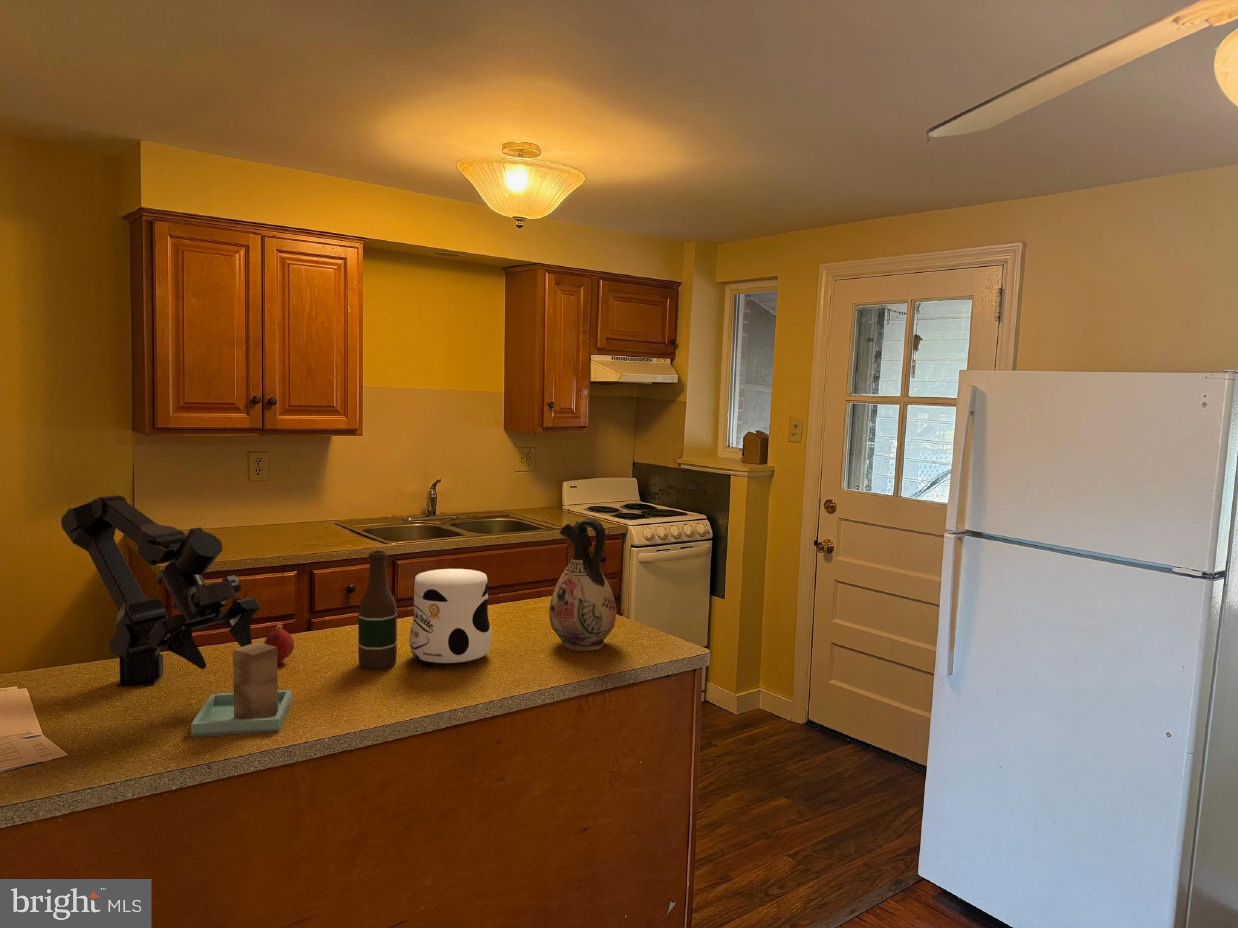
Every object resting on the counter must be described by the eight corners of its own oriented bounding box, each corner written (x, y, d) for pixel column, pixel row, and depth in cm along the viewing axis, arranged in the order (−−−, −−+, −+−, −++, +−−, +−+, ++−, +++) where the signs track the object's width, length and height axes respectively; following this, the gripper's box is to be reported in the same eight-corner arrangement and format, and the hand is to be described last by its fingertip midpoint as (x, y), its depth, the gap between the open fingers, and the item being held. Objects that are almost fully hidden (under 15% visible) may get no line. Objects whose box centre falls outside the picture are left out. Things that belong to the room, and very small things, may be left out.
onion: (283, 668, 170) (282, 630, 169) (257, 666, 171) (257, 628, 170) (299, 659, 176) (299, 622, 175) (275, 657, 177) (274, 620, 176)
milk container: (392, 664, 175) (392, 580, 173) (439, 641, 191) (440, 564, 189) (463, 677, 168) (464, 589, 166) (506, 652, 184) (507, 572, 182)
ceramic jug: (533, 645, 190) (536, 515, 187) (580, 631, 201) (583, 509, 198) (588, 663, 179) (592, 525, 176) (634, 647, 190) (638, 517, 187)
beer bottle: (404, 661, 176) (404, 550, 174) (382, 673, 169) (382, 556, 167) (373, 656, 179) (373, 546, 177) (350, 668, 172) (350, 553, 169)
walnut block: (233, 717, 144) (232, 649, 143) (258, 707, 148) (258, 641, 147) (253, 723, 141) (252, 654, 140) (277, 713, 146) (277, 646, 145)
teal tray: (191, 737, 137) (190, 724, 137) (211, 705, 150) (211, 693, 150) (279, 731, 140) (279, 718, 140) (291, 701, 153) (291, 689, 153)
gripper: (157, 573, 140) (199, 649, 136) (254, 554, 157) (294, 622, 152) (131, 610, 145) (170, 685, 141) (227, 589, 161) (265, 655, 157)
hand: (228, 660), depth 148 cm, fingers open, 9 cm apart
